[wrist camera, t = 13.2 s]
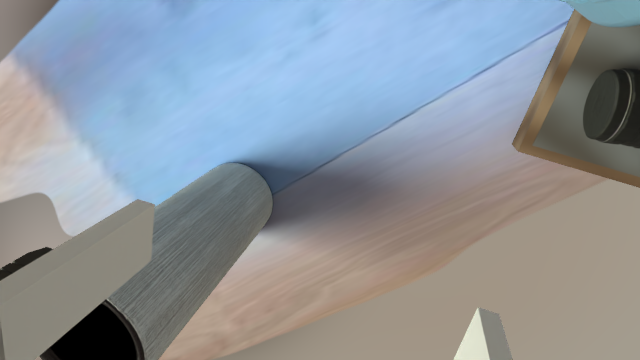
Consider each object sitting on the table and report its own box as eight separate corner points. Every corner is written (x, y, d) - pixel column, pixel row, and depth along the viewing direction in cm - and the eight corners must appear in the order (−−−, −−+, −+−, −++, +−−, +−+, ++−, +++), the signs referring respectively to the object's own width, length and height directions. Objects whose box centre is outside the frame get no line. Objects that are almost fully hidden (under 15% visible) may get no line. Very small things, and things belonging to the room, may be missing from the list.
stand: (586, -17, 37) (599, -21, 34) (773, 29, 35) (803, 29, 32) (512, 144, 43) (518, 151, 40) (667, 190, 41) (685, 201, 38)
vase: (274, 166, 50) (136, 297, 26) (273, 237, 54) (151, 410, 29) (201, 157, 52) (7, 269, 27) (205, 225, 56) (35, 379, 31)
